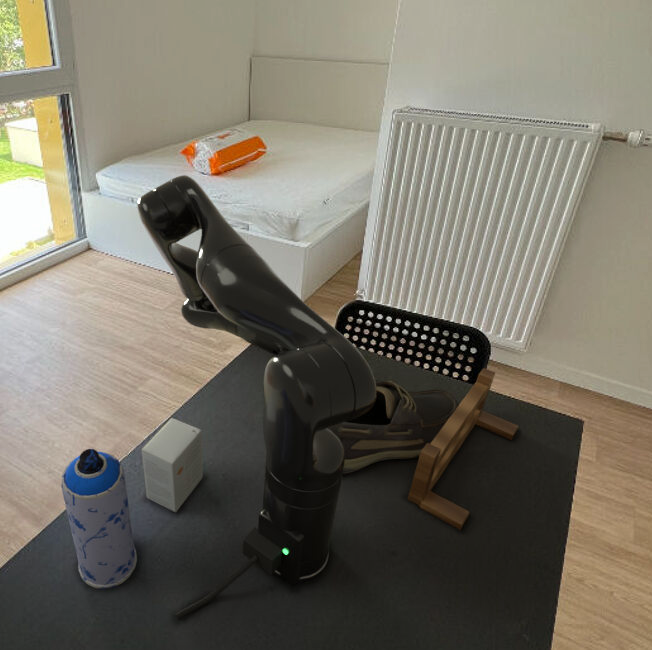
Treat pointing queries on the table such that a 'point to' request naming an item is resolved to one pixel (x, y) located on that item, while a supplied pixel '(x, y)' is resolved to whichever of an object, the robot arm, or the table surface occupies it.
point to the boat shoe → (394, 425)
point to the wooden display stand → (454, 450)
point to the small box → (173, 464)
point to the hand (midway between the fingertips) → (342, 362)
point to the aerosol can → (99, 518)
